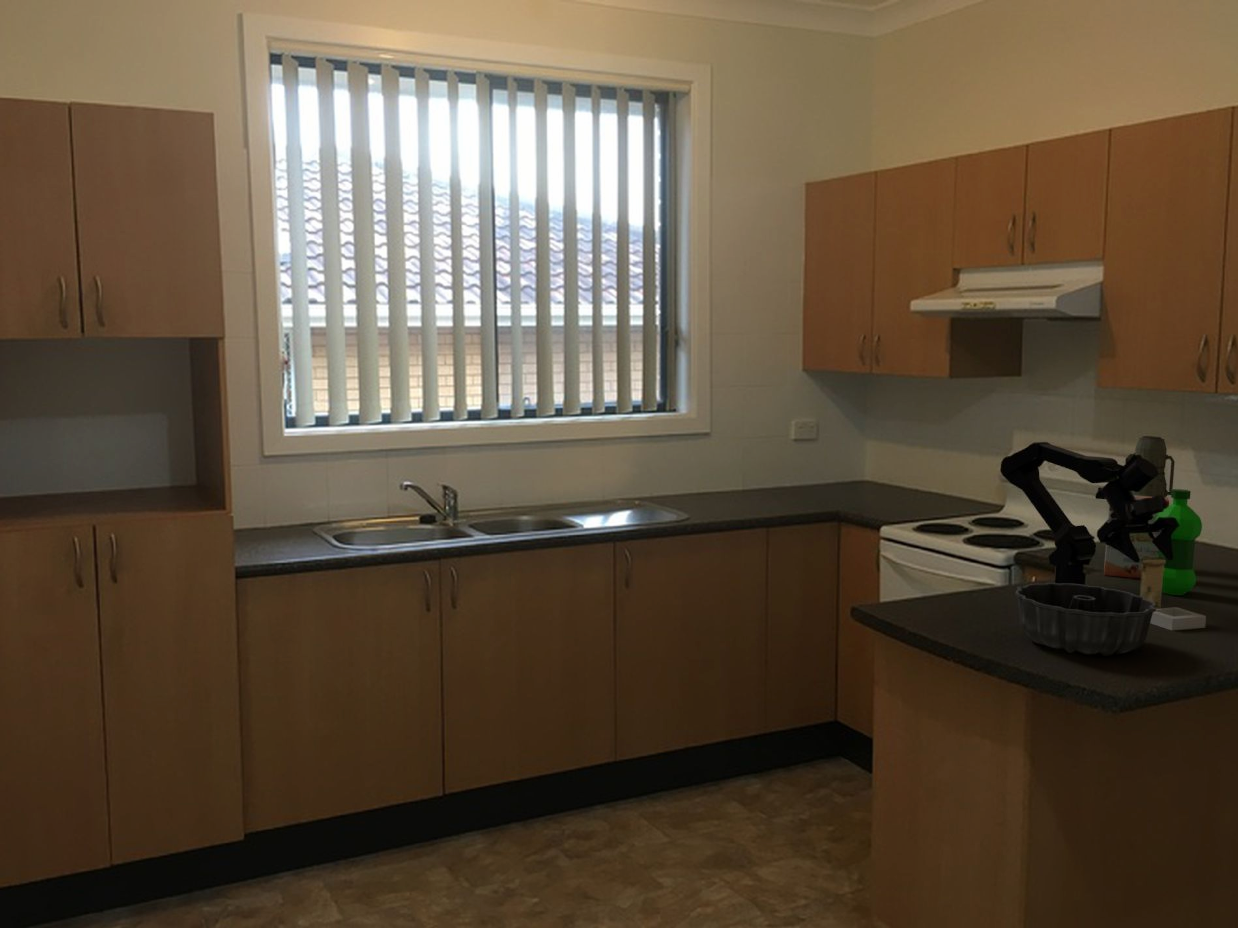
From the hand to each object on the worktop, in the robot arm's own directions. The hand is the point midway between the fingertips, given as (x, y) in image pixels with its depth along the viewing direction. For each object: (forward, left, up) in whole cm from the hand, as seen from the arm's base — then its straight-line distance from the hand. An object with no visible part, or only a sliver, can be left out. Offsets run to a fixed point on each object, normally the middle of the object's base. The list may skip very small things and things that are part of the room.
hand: (1155, 560), depth 264 cm
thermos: (+2, +56, -12) cm, 58 cm away
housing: (+4, -8, -12) cm, 15 cm away
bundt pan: (-15, -34, -12) cm, 39 cm away
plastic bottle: (+7, +26, -12) cm, 30 cm away
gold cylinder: (-1, -2, -12) cm, 12 cm away
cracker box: (-1, +42, -12) cm, 44 cm away
